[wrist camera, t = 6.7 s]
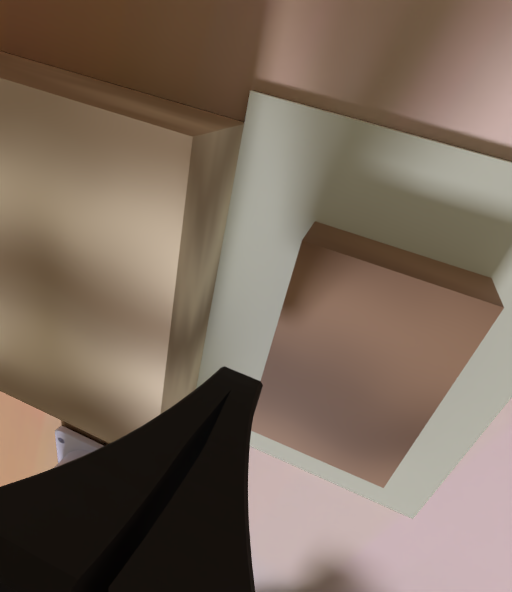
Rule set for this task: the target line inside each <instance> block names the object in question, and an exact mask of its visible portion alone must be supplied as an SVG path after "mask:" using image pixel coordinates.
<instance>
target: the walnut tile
mask: <svg viewBox="0 0 512 592" xmlns="http://www.w3.org/2000/svg"><path fill="white" fill-rule="evenodd" d="M503 309H504V306H503V304H502V301H501V299H500V297H499V294H498V292H497V290H496V287H495V285H494V283H493V280H492V278H490V277H487V276H484V275H480V274H477V273H474V272H471V271H468V270H465V269H462V268H459V267H456V266H453V265H449V264H446V263H443V262H440V261H437V260H434V259H431V258H428V257H425V256H422V255H418V254H415V253H412V252H409V251H406V250H403V249H400V248H397V247H394V246H391V245H387V244H384V243H381V242H378V241H375V240H372V239H369V238H366V237H363V236H360V235H356V234H353V233H350V232H347V231H344V230H341V229H338V228H335V227H332V226H328V225H325V224H322V223H319V222H316V221H315V222H314V223H313V225H312V226H311V228H310V229H309V231H308V232H307V234H306V235H305V237H304V238H303V240H302V242H301V245H300V249H299V252H298V255H297V259H296V262H295V266H294V269H293V272H292V276H291V279H290V283H289V286H288V289H287V293H286V296H285V300H284V303H283V306H282V310H281V313H280V317H279V320H278V323H277V327H276V330H275V334H274V337H273V340H272V344H271V347H270V351H269V354H268V357H267V361H266V364H265V368H264V371H263V374H262V378H261V383H262V385H263V387H262V390H261V393H260V397H259V400H258V403H257V406H256V410H255V413H254V416H253V422H252V429H251V431H253V432H255V433H258V434H260V435H262V436H265V437H267V438H269V439H271V440H274V441H276V442H278V443H281V444H283V445H285V446H288V447H290V448H292V449H294V450H297V451H299V452H301V453H304V454H306V455H308V456H311V457H313V458H315V459H317V460H320V461H322V462H324V463H327V464H329V465H331V466H334V467H336V468H338V469H340V470H343V471H345V472H347V473H350V474H352V475H354V476H357V477H359V478H361V479H363V480H366V481H368V482H370V483H373V484H375V485H377V486H380V487H382V488H384V487H385V485H386V484H387V482H388V481H389V479H390V478H391V476H392V475H393V473H394V472H395V470H396V469H397V467H398V466H399V464H400V463H401V461H402V460H403V458H404V457H405V455H406V454H407V452H408V451H409V449H410V448H411V446H412V445H413V443H414V442H415V440H416V439H417V437H418V436H419V434H420V433H421V431H422V430H423V428H424V427H425V425H426V424H427V422H428V421H429V419H430V418H431V416H432V415H433V413H434V412H435V410H436V409H437V407H438V406H439V404H440V403H441V402H442V400H443V399H444V397H445V396H446V394H447V393H448V391H449V390H450V388H451V387H452V385H453V384H454V382H455V381H456V379H457V378H458V376H459V375H460V373H461V372H462V370H463V369H464V367H465V366H466V364H467V363H468V361H469V360H470V358H471V357H472V355H473V354H474V352H475V351H476V349H477V348H478V346H479V345H480V343H481V342H482V340H483V339H484V337H485V336H486V334H487V333H488V331H489V330H490V328H491V327H492V325H493V324H494V322H495V321H496V319H497V318H498V316H499V315H500V313H501V312H502V310H503Z"/></svg>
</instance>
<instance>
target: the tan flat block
mask: <svg viewBox="0 0 512 592" xmlns="http://www.w3.org/2000/svg"><path fill="white" fill-rule="evenodd" d="M243 127H244V122H242V121H238V120H235V119H231V118H228V117H224V116H221V115H218V114H214V113H211V112H207V111H204V110H200V109H197V108H194V107H190V106H187V105H183V104H180V103H176V102H173V101H170V100H166V99H163V98H159V97H156V96H152V95H149V94H146V93H142V92H139V91H135V90H132V89H128V88H125V87H122V86H118V85H115V84H111V83H108V82H105V81H101V80H98V79H94V78H91V77H87V76H84V75H81V74H77V73H74V72H70V71H67V70H63V69H60V68H57V67H53V66H50V65H46V64H43V63H39V62H36V61H33V60H29V59H26V58H22V57H19V56H15V55H12V54H9V53H5V52H2V51H0V391H1V392H4V393H6V394H8V395H10V396H12V397H14V398H16V399H18V400H20V401H22V402H24V403H26V404H29V405H31V406H33V407H35V408H37V409H39V410H41V411H43V412H45V413H47V414H49V415H52V416H54V417H56V418H58V419H60V420H62V421H64V422H66V423H68V424H70V425H72V426H75V427H77V428H79V429H81V430H83V431H85V432H87V433H89V434H91V435H93V436H95V437H98V438H100V439H102V440H104V441H106V442H108V443H111V442H113V441H115V440H117V439H119V438H121V437H123V436H125V435H127V434H128V433H130V432H132V431H134V430H136V429H137V428H139V427H141V426H142V425H144V424H146V423H147V422H149V421H151V420H152V419H154V418H155V417H157V416H158V415H160V414H161V413H163V412H165V411H166V410H168V409H169V408H171V407H172V406H174V405H175V404H176V403H178V402H179V401H180V400H182V399H183V398H184V397H186V396H187V395H189V394H190V393H191V392H193V391H194V390H195V389H196V387H197V381H198V376H199V370H200V365H201V359H202V354H203V348H204V343H205V337H206V332H207V326H208V320H209V315H210V309H211V304H212V298H213V293H214V287H215V282H216V276H217V271H218V265H219V260H220V254H221V249H222V243H223V238H224V232H225V227H226V221H227V216H228V210H229V205H230V199H231V194H232V188H233V182H234V177H235V171H236V166H237V160H238V155H239V149H240V144H241V138H242V133H243Z"/></svg>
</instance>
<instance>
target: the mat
mask: <svg viewBox="0 0 512 592" xmlns="http://www.w3.org/2000/svg"><path fill="white" fill-rule="evenodd" d="M315 221H316V222H319V223H322V224H325V225H328V226H332V227H335V228H338V229H341V230H344V231H347V232H350V233H353V234H356V235H360V236H363V237H366V238H369V239H372V240H375V241H378V242H381V243H384V244H387V245H391V246H394V247H397V248H400V249H403V250H406V251H409V252H412V253H415V254H418V255H422V256H425V257H428V258H431V259H434V260H437V261H440V262H443V263H446V264H449V265H453V266H456V267H459V268H462V269H465V270H468V271H471V272H474V273H477V274H480V275H484V276H487V277H490V278H492V280H493V283H494V285H495V287H496V290H497V292H498V294H499V297H500V299H501V301H502V304H503V306H504V309H503V310H502V312H501V313H500V315H499V316H498V318H497V319H496V321H495V322H494V324H493V325H492V327H491V328H490V330H489V331H488V333H487V334H486V336H485V337H484V339H483V340H482V342H481V343H480V345H479V346H478V348H477V349H476V351H475V352H474V354H473V355H472V357H471V358H470V360H469V361H468V363H467V364H466V366H465V367H464V369H463V370H462V372H461V373H460V375H459V376H458V378H457V379H456V381H455V382H454V384H453V385H452V387H451V388H450V390H449V391H448V393H447V394H446V396H445V397H444V399H443V400H442V402H441V403H440V404H439V406H438V407H437V409H436V410H435V412H434V413H433V415H432V416H431V418H430V419H429V421H428V422H427V424H426V425H425V427H424V428H423V430H422V431H421V433H420V434H419V436H418V437H417V439H416V440H415V442H414V443H413V445H412V446H411V448H410V449H409V451H408V452H407V454H406V455H405V457H404V458H403V460H402V461H401V463H400V464H399V466H398V467H397V469H396V470H395V472H394V473H393V475H392V476H391V478H390V479H389V481H388V482H387V484H386V485H385V487H384V488H382V487H380V486H377V485H375V484H373V483H370V482H368V481H366V480H363V479H361V478H359V477H357V476H354V475H352V474H350V473H347V472H345V471H343V470H340V469H338V468H336V467H334V466H331V465H329V464H327V463H324V462H322V461H320V460H317V459H315V458H313V457H311V456H308V455H306V454H304V453H301V452H299V451H297V450H294V449H292V448H290V447H288V446H285V445H283V444H281V443H278V442H276V441H274V440H271V439H269V438H267V437H265V436H262V435H260V434H258V433H255V432H253V431H251V438H250V446H251V447H253V448H255V449H257V450H260V451H262V452H264V453H266V454H269V455H271V456H273V457H275V458H278V459H280V460H282V461H284V462H286V463H289V464H291V465H293V466H295V467H298V468H300V469H302V470H304V471H307V472H309V473H311V474H313V475H316V476H318V477H320V478H322V479H324V480H327V481H329V482H331V483H333V484H336V485H338V486H340V487H342V488H345V489H347V490H349V491H351V492H354V493H356V494H358V495H360V496H362V497H365V498H367V499H369V500H371V501H374V502H376V503H378V504H380V505H383V506H385V507H387V508H389V509H392V510H394V511H396V512H398V513H400V514H403V515H405V516H407V517H409V518H412V519H413V518H414V517H415V516H416V514H417V513H418V512H419V511H420V510H421V508H422V507H423V506H424V505H425V503H426V502H427V501H428V500H429V498H430V497H431V496H432V495H433V494H434V492H435V491H436V490H437V489H438V487H439V486H440V485H441V484H442V482H443V481H444V480H445V479H446V478H447V476H448V475H449V474H450V473H451V471H452V470H453V469H454V468H455V466H456V465H457V464H458V463H459V462H460V460H461V459H462V458H463V457H464V455H465V454H466V453H467V452H468V450H469V449H470V448H471V447H472V446H473V444H474V443H475V442H476V441H477V439H478V438H479V437H480V436H481V435H482V433H483V432H484V431H485V430H486V428H487V427H488V426H489V425H490V423H491V422H492V421H493V420H494V419H495V417H496V416H497V415H498V414H499V412H500V411H501V410H502V409H503V407H504V406H505V405H506V404H507V403H508V401H509V400H510V399H511V398H512V162H511V161H507V160H504V159H500V158H496V157H493V156H489V155H486V154H482V153H478V152H475V151H471V150H467V149H464V148H460V147H457V146H453V145H449V144H446V143H442V142H438V141H435V140H431V139H427V138H424V137H420V136H417V135H413V134H409V133H406V132H402V131H398V130H395V129H391V128H388V127H384V126H380V125H377V124H373V123H369V122H366V121H362V120H358V119H355V118H351V117H348V116H344V115H340V114H337V113H333V112H329V111H326V110H322V109H319V108H315V107H311V106H308V105H304V104H300V103H297V102H293V101H289V100H286V99H282V98H279V97H275V96H271V95H268V94H264V93H260V92H257V91H250V94H249V100H248V105H247V111H246V116H245V122H244V127H243V133H242V138H241V144H240V149H239V155H238V160H237V166H236V171H235V177H234V182H233V188H232V194H231V199H230V205H229V210H228V216H227V221H226V227H225V232H224V238H223V243H222V249H221V254H220V260H219V265H218V271H217V276H216V282H215V287H214V293H213V298H212V304H211V309H210V315H209V320H208V326H207V332H206V337H205V343H204V348H203V354H202V359H201V365H200V370H199V376H198V381H197V387H196V388H198V387H199V386H200V385H201V384H203V383H204V382H205V381H206V380H208V379H209V378H210V377H211V376H212V375H213V374H214V373H216V372H217V371H218V370H219V369H220V368H221V367H224V366H225V367H227V368H230V369H232V370H235V371H237V372H239V373H242V374H244V375H247V376H249V377H252V378H254V379H256V380H259V381H261V378H262V374H263V371H264V368H265V364H266V361H267V357H268V354H269V351H270V347H271V344H272V340H273V337H274V334H275V330H276V327H277V323H278V320H279V317H280V313H281V310H282V306H283V303H284V300H285V296H286V293H287V289H288V286H289V283H290V279H291V276H292V272H293V269H294V266H295V262H296V259H297V255H298V252H299V249H300V245H301V242H302V240H303V238H304V237H305V235H306V234H307V232H308V231H309V229H310V228H311V226H312V225H313V223H314V222H315Z"/></svg>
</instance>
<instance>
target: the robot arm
mask: <svg viewBox="0 0 512 592" xmlns="http://www.w3.org/2000/svg"><path fill="white" fill-rule="evenodd" d="M262 387H263V385H262V383H261V381H259V380H256V379H254V378H252V377H249V376H247V375H244V374H242V373H239V372H237V371H235V370H232V369H230V368H227V367H225V366H224V367H221V368H220V369H219V370H218V371H217V372H216V373H214V374H213V375H212V376H211V377H210V378H209V379H208V380H206V381H205V382H204V383H203V384H201V385H200V386H199V387H198V388H196V389H195V390H194V391H193V392H191V393H190V394H189V395H187V396H186V397H184V398H183V399H182V400H180V401H179V402H178V403H176V404H175V405H174V406H172V407H171V408H169V409H168V410H166V411H165V412H163V413H161V414H160V415H158V416H157V417H155V418H154V419H152V420H151V421H149V422H147V423H146V424H144V425H142V426H141V427H139V428H137V429H136V430H134V431H132V432H130V433H128V434H127V435H125V436H123V437H121V438H119V439H117V440H115V441H113V442H111V443H109V444H107V445H105V446H104V445H101V444H99V443H97V442H95V441H93V440H91V439H89V438H87V437H85V436H83V435H81V434H79V433H77V432H74V431H72V430H70V429H68V428H66V427H64V426H60V427H58V428H57V429H56V430H55V437H56V446H57V456H58V464H57V465H56V466H55V468H53V469H50V470H48V471H45V472H43V473H40V474H37V475H34V476H31V477H28V478H25V479H22V480H19V481H16V482H13V483H10V484H7V485H4V486H1V487H0V592H255V586H254V578H253V569H252V559H251V546H250V534H249V517H248V463H249V447H250V438H251V429H252V422H253V416H254V413H255V410H256V406H257V403H258V400H259V397H260V393H261V390H262Z"/></svg>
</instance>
